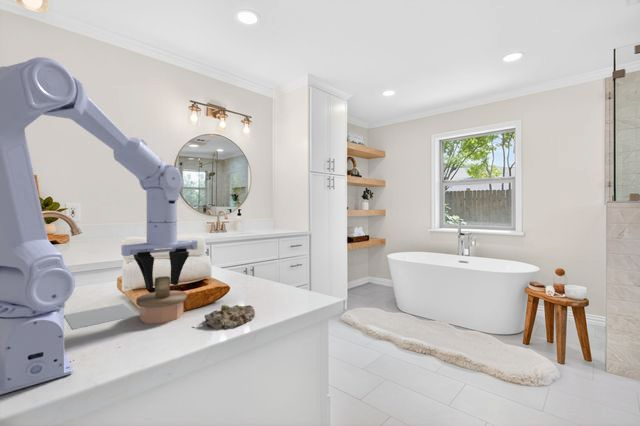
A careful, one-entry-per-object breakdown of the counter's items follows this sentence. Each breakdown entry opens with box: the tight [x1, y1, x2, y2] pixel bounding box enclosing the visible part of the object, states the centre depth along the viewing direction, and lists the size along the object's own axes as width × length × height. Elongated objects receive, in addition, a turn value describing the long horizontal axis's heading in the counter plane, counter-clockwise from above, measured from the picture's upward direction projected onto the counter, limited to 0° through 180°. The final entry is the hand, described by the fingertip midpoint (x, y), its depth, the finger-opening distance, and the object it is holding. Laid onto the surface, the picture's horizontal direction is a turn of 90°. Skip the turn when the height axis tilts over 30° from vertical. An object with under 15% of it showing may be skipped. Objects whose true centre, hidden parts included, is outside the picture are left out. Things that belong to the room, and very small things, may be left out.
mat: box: [64, 303, 138, 330], centre depth 68 cm, size 11×11×1 cm
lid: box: [135, 276, 188, 308], centre depth 67 cm, size 10×10×5 cm
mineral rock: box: [204, 304, 256, 330], centre depth 66 cm, size 11×4×8 cm
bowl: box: [139, 301, 184, 324], centre depth 67 cm, size 8×8×4 cm
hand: (162, 286), depth 67 cm, fingers open, 4 cm apart
